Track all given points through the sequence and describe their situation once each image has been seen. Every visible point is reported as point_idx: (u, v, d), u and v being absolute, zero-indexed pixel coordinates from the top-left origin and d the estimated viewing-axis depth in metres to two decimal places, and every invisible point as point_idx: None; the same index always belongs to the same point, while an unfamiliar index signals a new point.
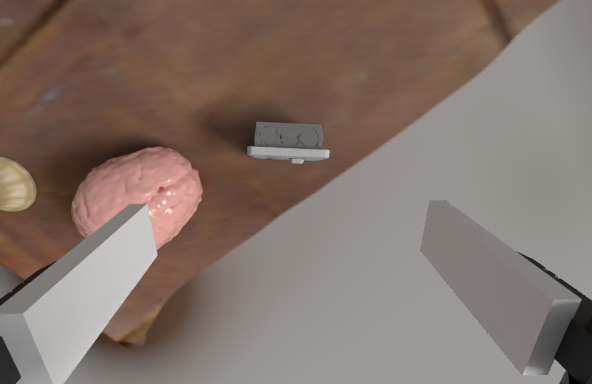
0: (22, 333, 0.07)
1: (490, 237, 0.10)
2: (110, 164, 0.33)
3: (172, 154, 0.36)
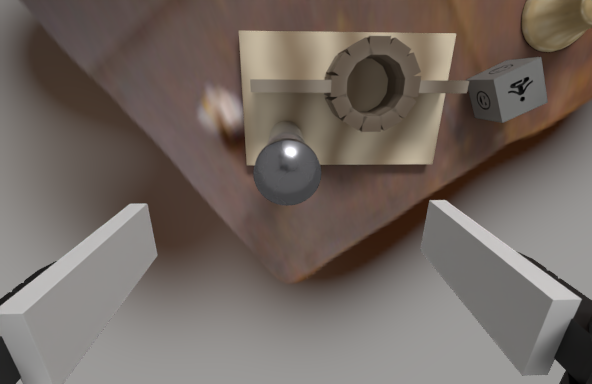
0: (22, 333, 0.07)
1: (490, 237, 0.10)
2: None
3: None
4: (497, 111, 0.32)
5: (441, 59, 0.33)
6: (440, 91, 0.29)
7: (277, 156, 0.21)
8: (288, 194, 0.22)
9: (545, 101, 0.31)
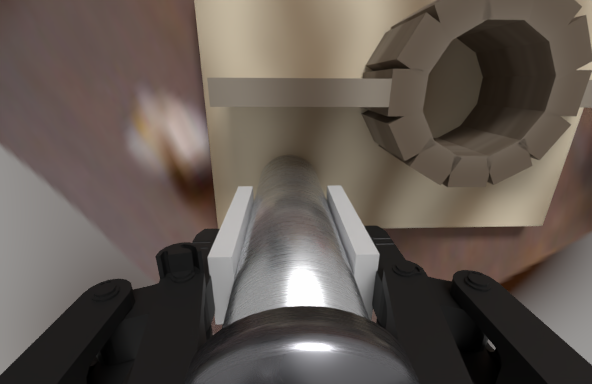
0: (226, 273, 0.09)
1: (351, 212, 0.12)
2: None
3: None
4: None
5: None
6: None
7: None
8: None
9: None
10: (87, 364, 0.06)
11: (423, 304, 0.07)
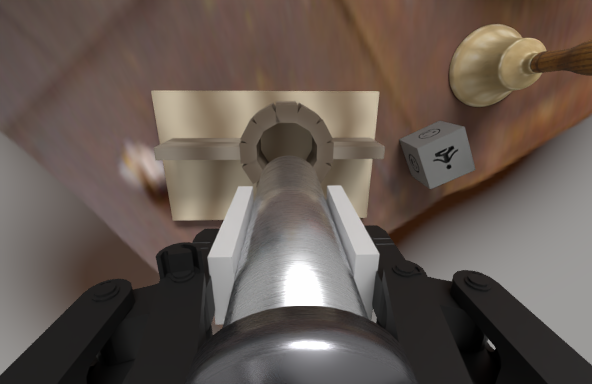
0: (226, 273, 0.09)
1: (351, 213, 0.12)
2: None
3: None
4: (425, 177, 0.31)
5: (366, 116, 0.31)
6: (355, 157, 0.28)
7: None
8: None
9: (473, 169, 0.30)
10: (87, 364, 0.06)
11: (423, 304, 0.07)
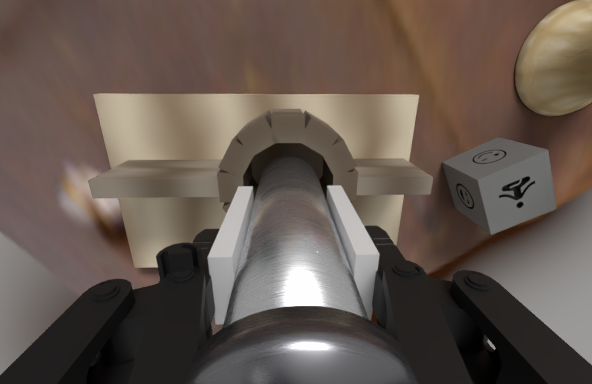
0: (226, 273, 0.09)
1: (351, 212, 0.12)
2: None
3: None
4: (483, 218, 0.22)
5: (399, 130, 0.22)
6: (389, 192, 0.19)
7: None
8: None
9: (553, 207, 0.21)
10: (88, 364, 0.06)
11: (423, 304, 0.07)
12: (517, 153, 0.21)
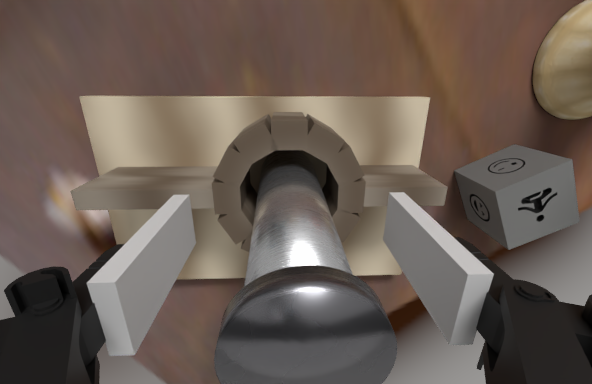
0: (112, 300, 0.08)
1: (433, 223, 0.11)
2: None
3: None
4: (500, 232, 0.20)
5: (408, 135, 0.21)
6: None
7: (280, 327, 0.07)
8: None
9: (576, 221, 0.20)
10: None
11: (555, 334, 0.06)
12: (537, 162, 0.19)
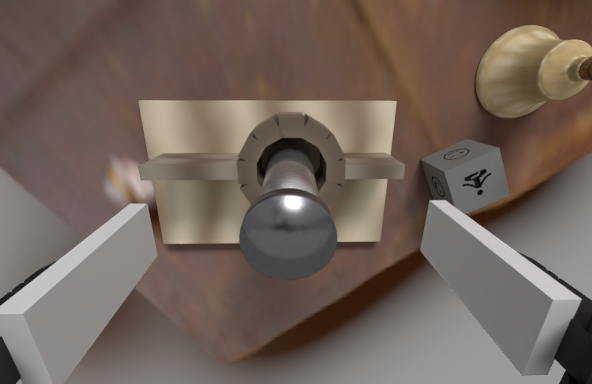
0: (22, 333, 0.07)
1: (490, 237, 0.10)
2: None
3: None
4: (452, 204, 0.27)
5: (381, 129, 0.28)
6: (371, 177, 0.24)
7: (273, 217, 0.14)
8: (289, 266, 0.15)
9: (507, 194, 0.27)
10: None
11: None
12: (477, 151, 0.26)
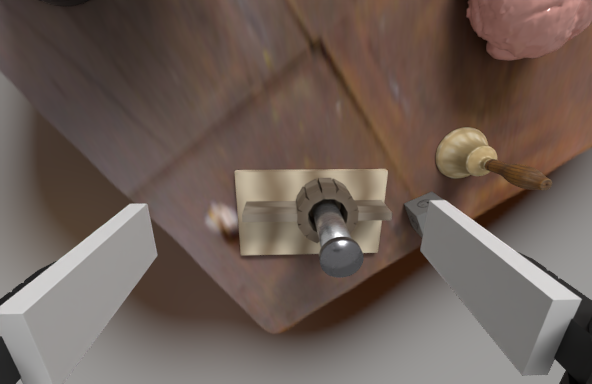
0: (22, 333, 0.07)
1: (490, 237, 0.10)
2: None
3: None
4: (421, 233, 0.46)
5: (378, 186, 0.46)
6: (372, 219, 0.42)
7: (336, 250, 0.32)
8: (341, 271, 0.33)
9: None
10: None
11: None
12: None
